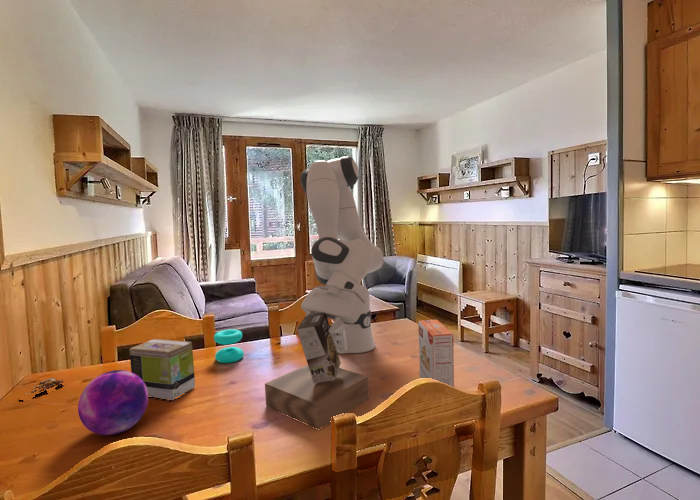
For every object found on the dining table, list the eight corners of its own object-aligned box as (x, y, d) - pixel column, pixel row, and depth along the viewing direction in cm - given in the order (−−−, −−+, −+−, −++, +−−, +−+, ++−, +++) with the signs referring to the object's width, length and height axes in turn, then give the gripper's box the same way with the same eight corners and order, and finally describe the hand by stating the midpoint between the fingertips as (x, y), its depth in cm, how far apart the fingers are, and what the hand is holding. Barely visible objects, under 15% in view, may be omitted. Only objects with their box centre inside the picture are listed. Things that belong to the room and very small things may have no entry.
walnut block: (266, 407, 111) (264, 383, 110) (317, 382, 126) (316, 360, 125) (318, 432, 98) (317, 404, 97) (368, 400, 113) (367, 376, 113)
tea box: (196, 387, 124) (193, 340, 123) (172, 402, 115) (168, 352, 113) (158, 382, 129) (154, 337, 128) (131, 396, 120) (127, 347, 118)
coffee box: (336, 380, 106) (319, 324, 103) (313, 384, 108) (295, 329, 104) (341, 362, 115) (326, 310, 112) (320, 366, 116) (304, 315, 113)
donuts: (238, 326, 153) (245, 333, 144) (240, 352, 154) (246, 360, 146) (211, 331, 149) (216, 338, 140) (213, 357, 150) (218, 366, 141)
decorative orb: (135, 445, 94) (129, 383, 92) (67, 450, 93) (60, 388, 91) (159, 413, 109) (155, 359, 107) (101, 417, 108) (96, 362, 106)
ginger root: (12, 402, 119) (11, 390, 119) (50, 384, 131) (49, 374, 131) (32, 403, 118) (30, 392, 117) (68, 385, 129) (67, 375, 129)
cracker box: (418, 389, 118) (417, 319, 116) (438, 388, 119) (438, 318, 116) (432, 413, 104) (431, 334, 102) (455, 411, 105) (454, 333, 103)
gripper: (311, 278, 122) (286, 317, 116) (361, 286, 108) (336, 330, 102) (322, 290, 126) (299, 329, 120) (372, 299, 112) (349, 343, 105)
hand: (317, 329), depth 111 cm, fingers closed on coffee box, 8 cm apart
